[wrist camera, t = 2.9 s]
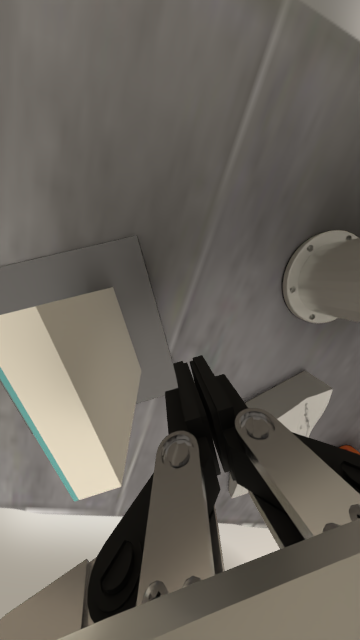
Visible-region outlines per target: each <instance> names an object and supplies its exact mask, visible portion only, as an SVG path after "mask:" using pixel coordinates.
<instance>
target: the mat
mask: <svg viewBox="0 0 360 640" xmlns="http://www.w3.org/2000/svg"><path fill="white" fill-rule="evenodd" d="M111 287H113V289H114V292H115V295H116V298H117V301H118V303H119V306H120V309H121V312H122V315H123V318H124V321H125V324H126V327H127V330H128V333H129V336H130V339H131V342H132V345H133V348H134V350H135V353H136V356H137V359H138V362H139V365H140V368H141V376H140V382H139V388H138V393H137V399H136V404H137V403H141V402H144V401H148V400H151V399H154V398H158V397H161V396H165V391H169V390H172V389H175V388H178V384H177V379H176V375H175V370H174V366H173V363H172V359H171V355H170V352H169V348H168V345H167V341H166V337H165V334H164V330H163V327H162V323H161V320H160V316H159V312H158V309H157V305H156V302H155V298H154V295H153V291H152V287H151V284H150V280H149V277H148V273H147V270H146V266H145V262H144V259H143V255H142V252H141V248H140V245H139V241H138V237H137V235H136V236H132V237H128V238H123V239H119V240H115V241H110V242H106V243H102V244H97V245H93V246H89V247H84V248H80V249H76V250H72V251H67V252H63V253H59V254H54V255H50V256H46V257H41V258H37V259H33V260H28V261H24V262H20V263H15V264H11V265H7V266H3V267H0V315H2V314H6V313H10V312H14V311H18V310H22V309H27V308H31V307H35V306H39V305H43V304H47V303H51V302H55V301H59V300H63V299H67V298H71V297H75V296H79V295H83V294H87V293H91V292H95V291H99V290H103V289H107V288H111ZM0 382H1V384H2V385H3V387H4V389H5V390H6V392H7V394H8V395H9V397H10V398H11V396H10V394H9V393H8V391H7V389H6V388H5V386H4V384H3V383H2V381H1V379H0ZM11 400H12V402H13V403H14V401H13V399H12V398H11ZM14 405H15V407H16V408H17V406H16V404H15V403H14ZM17 410H18V412H19V413H20V411H19V409H18V408H17ZM20 415H21V417H22V418H23V416H22V414H21V413H20ZM23 420H24V422H25V423H26V425H27V426H28V424H27V422H26V421H25V419H24V418H23ZM28 428H29V430H30V431H31V429H30V427H29V426H28ZM31 433H32V434H33V432H32V431H31Z"/></svg>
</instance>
